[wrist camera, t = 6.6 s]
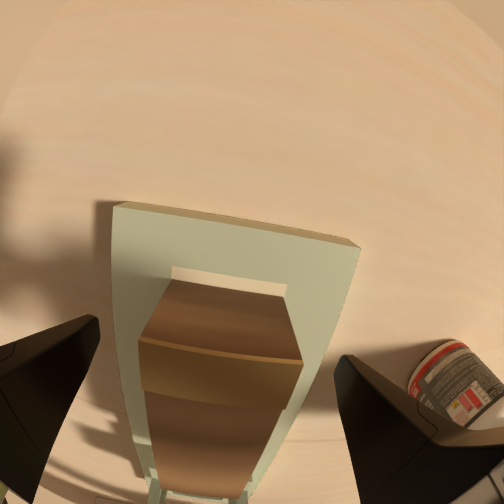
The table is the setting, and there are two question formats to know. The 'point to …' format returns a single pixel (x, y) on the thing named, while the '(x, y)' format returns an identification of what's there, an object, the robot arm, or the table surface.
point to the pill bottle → (459, 387)
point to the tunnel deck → (225, 276)
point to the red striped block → (106, 501)
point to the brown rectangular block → (215, 384)
